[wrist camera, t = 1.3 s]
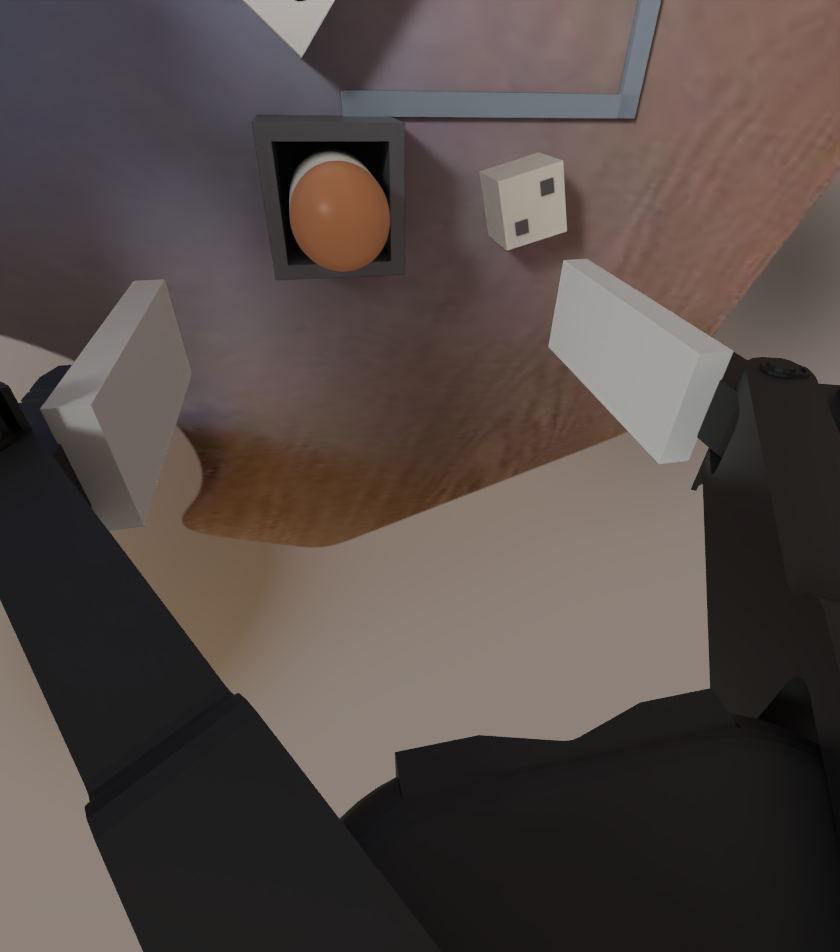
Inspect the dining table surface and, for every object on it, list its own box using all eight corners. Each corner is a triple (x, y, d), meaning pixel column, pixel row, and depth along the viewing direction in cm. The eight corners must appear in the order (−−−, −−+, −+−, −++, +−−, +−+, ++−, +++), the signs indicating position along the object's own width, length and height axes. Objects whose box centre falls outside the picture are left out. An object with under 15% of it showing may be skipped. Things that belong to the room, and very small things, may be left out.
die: (488, 235, 36) (507, 251, 33) (478, 171, 33) (498, 181, 30) (543, 217, 36) (567, 231, 33) (537, 152, 33) (563, 160, 30)
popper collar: (277, 256, 34) (275, 280, 30) (256, 115, 29) (251, 122, 25) (391, 252, 35) (404, 274, 31) (389, 116, 30) (404, 122, 27)
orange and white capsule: (295, 246, 31) (296, 287, 25) (283, 148, 28) (281, 168, 22) (378, 243, 32) (397, 282, 26) (375, 148, 29) (397, 167, 23)
